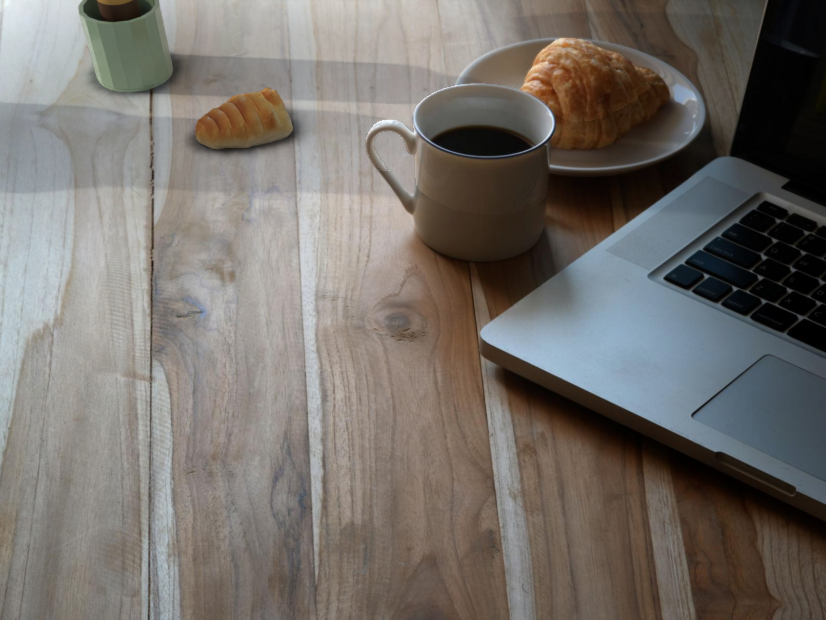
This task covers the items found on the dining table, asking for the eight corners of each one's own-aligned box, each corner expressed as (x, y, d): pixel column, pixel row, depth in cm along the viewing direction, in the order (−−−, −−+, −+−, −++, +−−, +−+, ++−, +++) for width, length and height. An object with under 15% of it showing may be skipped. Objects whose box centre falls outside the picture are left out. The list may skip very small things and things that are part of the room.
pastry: (211, 165, 91) (205, 131, 88) (186, 130, 95) (179, 97, 92) (299, 138, 94) (295, 105, 92) (271, 106, 98) (267, 73, 96)
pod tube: (109, 77, 100) (88, -3, 93) (122, 58, 103) (102, -21, 96) (146, 81, 100) (128, 1, 93) (158, 61, 102) (141, -18, 96)
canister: (86, 90, 99) (66, 20, 93) (113, 52, 105) (95, -17, 99) (160, 97, 99) (144, 27, 93) (182, 58, 104) (169, -11, 98)
